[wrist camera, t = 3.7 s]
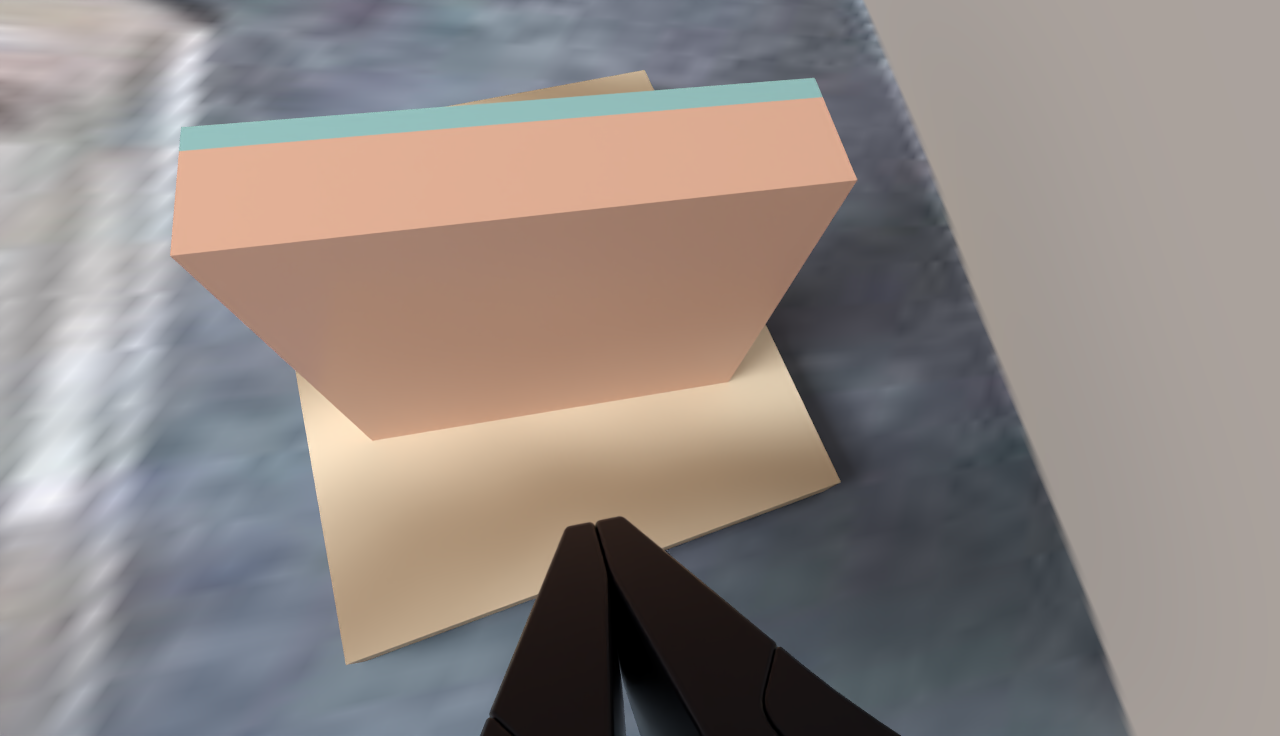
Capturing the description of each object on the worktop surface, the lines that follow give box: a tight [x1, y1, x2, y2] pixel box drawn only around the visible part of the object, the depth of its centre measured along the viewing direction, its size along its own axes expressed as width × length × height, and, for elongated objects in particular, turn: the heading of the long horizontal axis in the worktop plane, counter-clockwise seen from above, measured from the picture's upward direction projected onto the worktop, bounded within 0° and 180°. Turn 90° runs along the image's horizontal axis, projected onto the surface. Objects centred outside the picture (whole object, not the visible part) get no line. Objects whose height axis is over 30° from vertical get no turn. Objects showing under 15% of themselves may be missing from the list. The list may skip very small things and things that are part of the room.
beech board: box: [296, 70, 841, 665], centre depth 17 cm, size 14×12×1 cm
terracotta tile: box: [170, 78, 857, 441], centre depth 12 cm, size 2×9×8 cm, turn 102°
